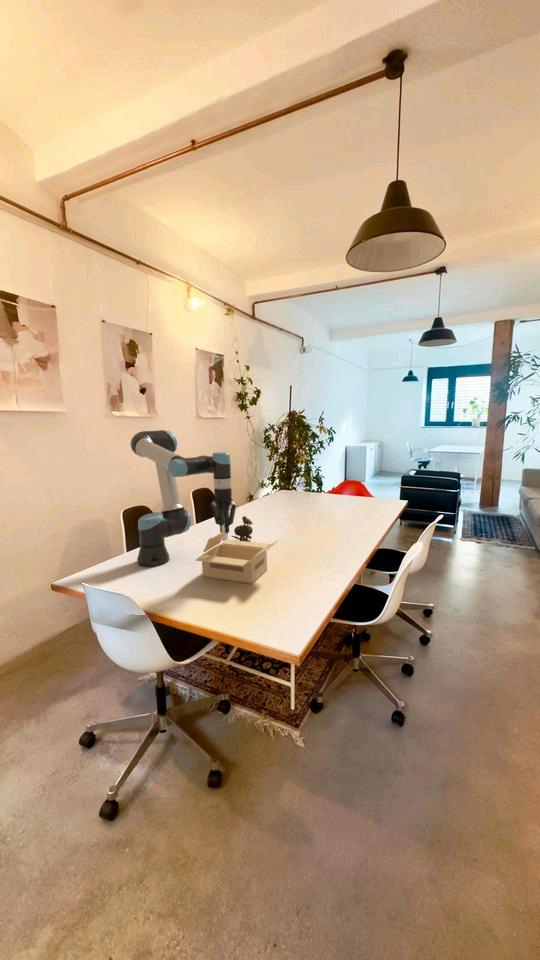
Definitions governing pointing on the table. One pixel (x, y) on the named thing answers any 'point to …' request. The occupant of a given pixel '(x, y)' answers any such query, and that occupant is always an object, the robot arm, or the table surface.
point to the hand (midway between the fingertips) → (225, 539)
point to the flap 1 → (213, 541)
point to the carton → (235, 561)
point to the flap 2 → (265, 549)
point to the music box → (244, 530)
